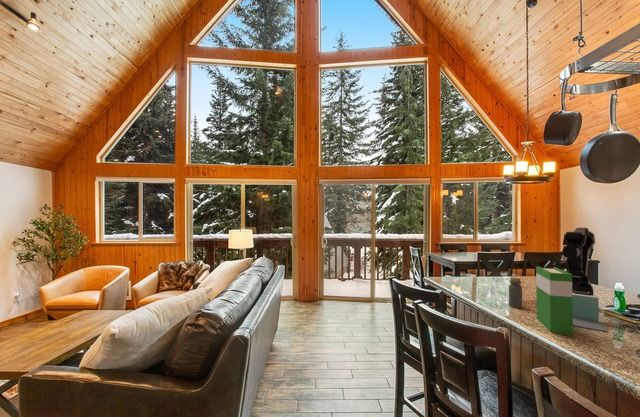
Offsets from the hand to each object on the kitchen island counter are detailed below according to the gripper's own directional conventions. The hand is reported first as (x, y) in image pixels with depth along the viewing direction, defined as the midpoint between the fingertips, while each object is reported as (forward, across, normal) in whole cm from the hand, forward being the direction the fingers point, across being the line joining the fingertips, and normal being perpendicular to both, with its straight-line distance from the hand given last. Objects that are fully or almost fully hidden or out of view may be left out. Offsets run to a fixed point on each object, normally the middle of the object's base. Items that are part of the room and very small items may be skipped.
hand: (574, 288), depth 153 cm
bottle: (+12, +9, -24) cm, 28 cm away
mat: (+12, +21, +2) cm, 24 cm away
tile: (+12, +12, +2) cm, 17 cm away
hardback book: (+12, +32, -8) cm, 35 cm away
